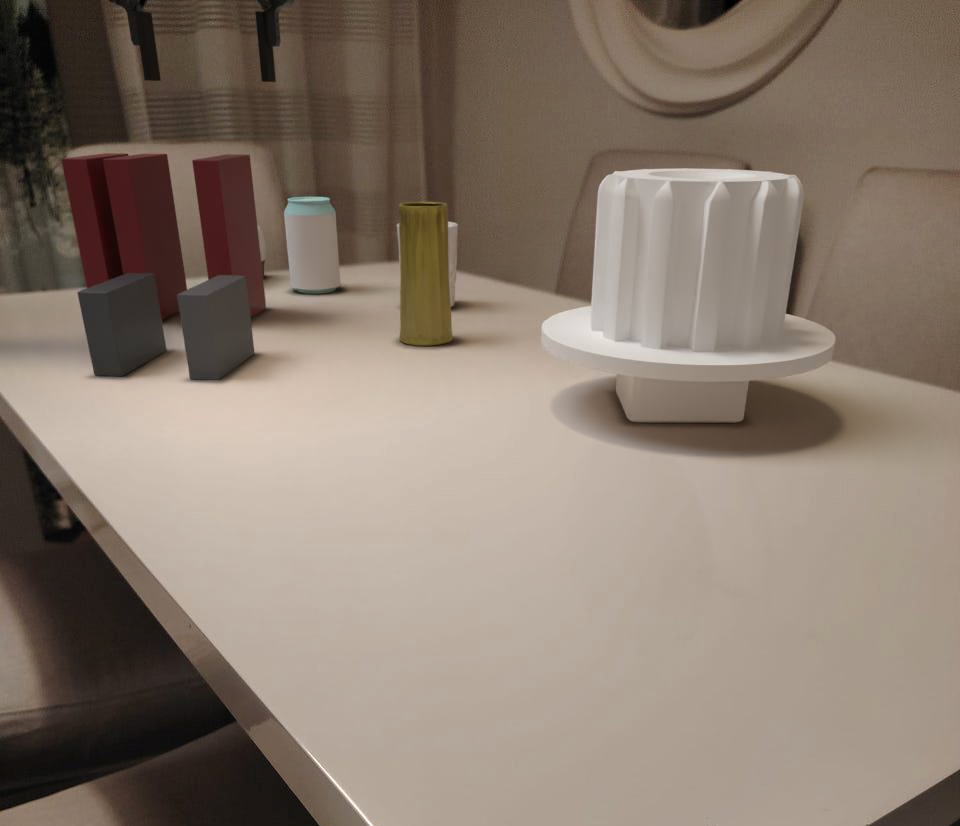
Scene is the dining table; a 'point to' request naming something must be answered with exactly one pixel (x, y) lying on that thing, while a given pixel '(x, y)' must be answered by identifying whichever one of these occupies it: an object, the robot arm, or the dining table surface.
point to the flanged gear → (692, 292)
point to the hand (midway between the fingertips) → (210, 81)
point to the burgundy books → (127, 220)
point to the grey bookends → (139, 331)
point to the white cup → (451, 256)
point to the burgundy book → (230, 222)
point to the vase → (424, 274)
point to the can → (312, 245)
